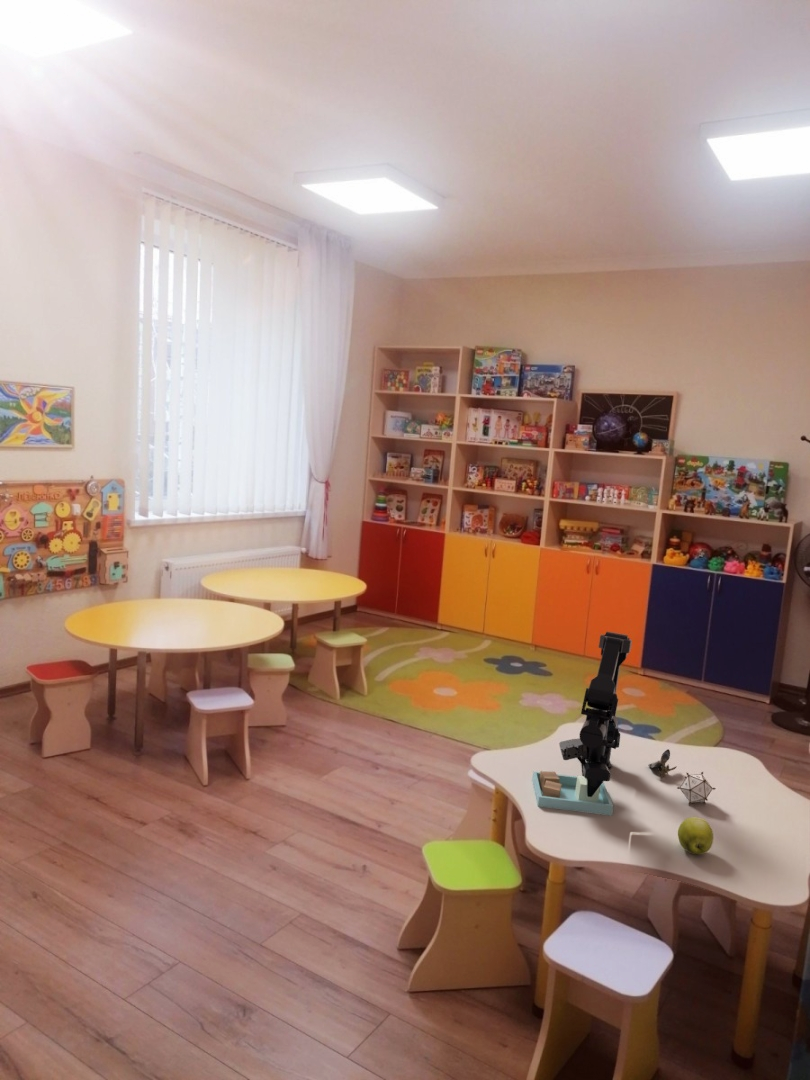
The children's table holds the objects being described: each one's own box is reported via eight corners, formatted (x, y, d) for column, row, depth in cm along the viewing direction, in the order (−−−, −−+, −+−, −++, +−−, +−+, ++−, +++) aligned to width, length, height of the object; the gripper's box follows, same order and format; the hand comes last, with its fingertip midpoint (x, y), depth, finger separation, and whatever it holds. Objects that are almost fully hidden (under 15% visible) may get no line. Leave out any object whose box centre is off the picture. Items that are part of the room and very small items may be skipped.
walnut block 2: (544, 794, 203) (546, 780, 203) (559, 798, 202) (561, 784, 202) (541, 801, 200) (543, 786, 199) (557, 805, 198) (559, 790, 198)
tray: (531, 782, 211) (533, 771, 211) (600, 790, 210) (602, 779, 210) (537, 808, 197) (539, 797, 196) (611, 817, 196) (613, 806, 196)
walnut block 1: (538, 785, 208) (540, 771, 208) (553, 785, 209) (555, 771, 208) (542, 792, 205) (544, 778, 204) (557, 793, 205) (559, 778, 204)
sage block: (574, 793, 206) (577, 775, 205) (593, 795, 206) (596, 777, 205) (578, 802, 201) (580, 784, 200) (597, 804, 201) (600, 786, 200)
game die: (684, 815, 209) (665, 783, 209) (698, 796, 215) (680, 764, 215) (713, 813, 202) (693, 780, 202) (726, 793, 208) (707, 761, 208)
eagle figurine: (682, 778, 221) (674, 759, 229) (672, 758, 219) (665, 740, 228) (656, 787, 223) (650, 768, 231) (646, 768, 221) (640, 749, 229)
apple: (706, 844, 187) (711, 813, 186) (713, 865, 179) (719, 832, 177) (672, 838, 189) (678, 807, 188) (678, 858, 180) (683, 826, 179)
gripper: (559, 716, 210) (551, 770, 213) (569, 744, 192) (560, 803, 194) (600, 721, 210) (592, 775, 212) (614, 750, 191) (605, 809, 194)
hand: (587, 790), depth 203 cm, fingers open, 7 cm apart
